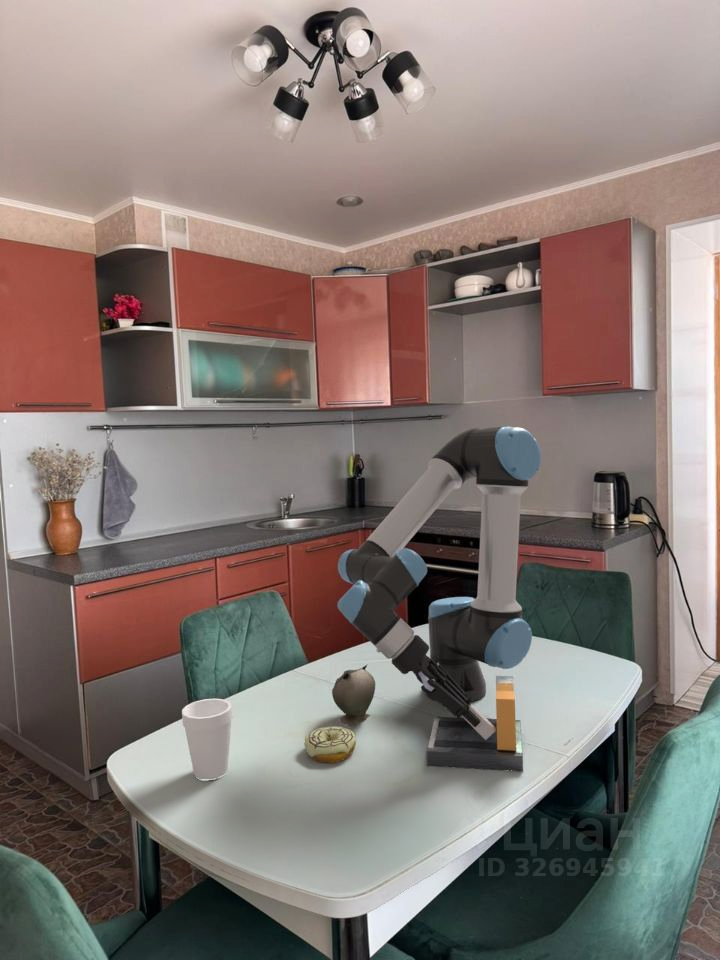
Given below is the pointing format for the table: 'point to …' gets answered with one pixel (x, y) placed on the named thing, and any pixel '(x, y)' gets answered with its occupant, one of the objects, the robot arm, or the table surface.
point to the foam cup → (208, 736)
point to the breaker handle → (505, 720)
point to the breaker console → (472, 742)
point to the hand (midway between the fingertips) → (490, 733)
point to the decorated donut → (330, 744)
